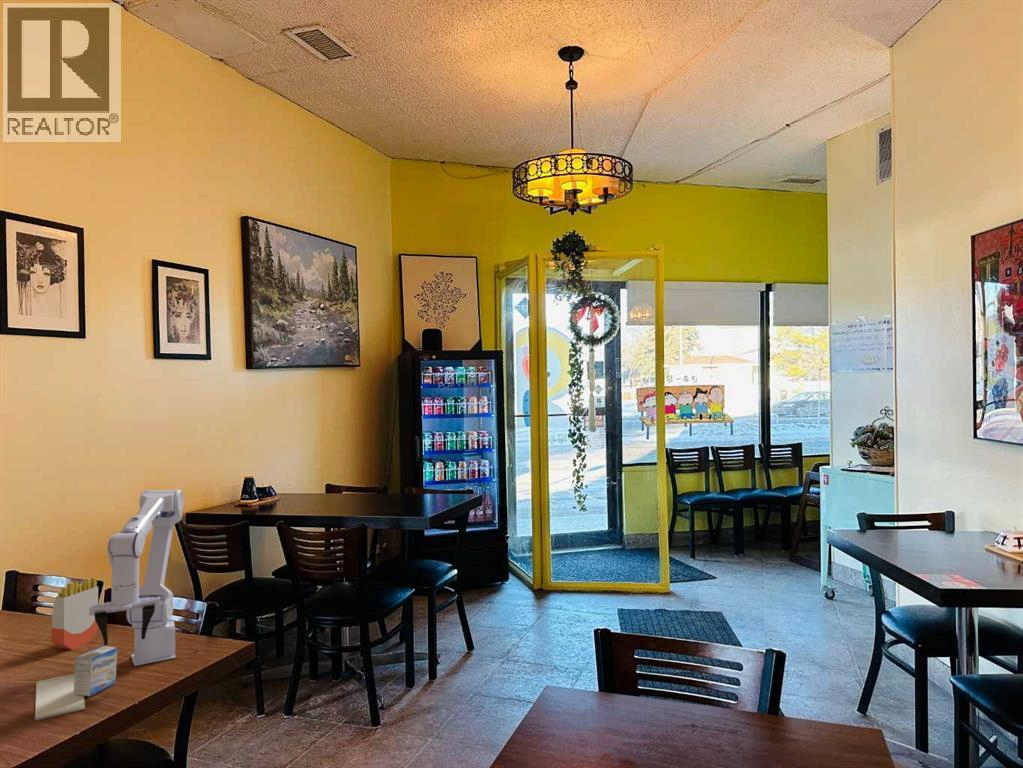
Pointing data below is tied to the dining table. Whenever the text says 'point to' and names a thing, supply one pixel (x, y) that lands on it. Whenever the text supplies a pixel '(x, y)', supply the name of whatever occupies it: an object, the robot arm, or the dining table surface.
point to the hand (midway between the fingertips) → (124, 640)
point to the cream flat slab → (57, 697)
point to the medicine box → (95, 671)
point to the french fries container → (74, 615)
